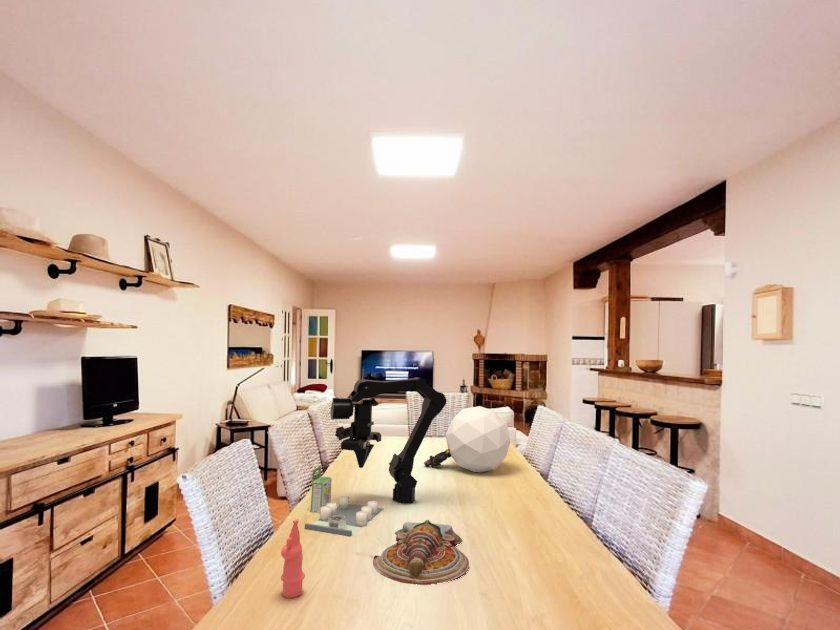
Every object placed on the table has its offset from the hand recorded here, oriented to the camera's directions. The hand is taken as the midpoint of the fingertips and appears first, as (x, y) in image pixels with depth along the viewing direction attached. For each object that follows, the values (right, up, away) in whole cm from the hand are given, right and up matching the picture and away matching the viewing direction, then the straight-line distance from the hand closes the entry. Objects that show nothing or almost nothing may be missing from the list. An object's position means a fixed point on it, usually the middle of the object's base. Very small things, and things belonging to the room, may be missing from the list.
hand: (361, 467), depth 156 cm
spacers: (-2, -11, -12) cm, 16 cm away
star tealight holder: (-4, -10, -21) cm, 23 cm away
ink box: (-12, -12, -6) cm, 18 cm away
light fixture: (+39, -17, +51) cm, 67 cm away
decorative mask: (+20, -12, -35) cm, 42 cm away
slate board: (-2, -12, -13) cm, 18 cm away
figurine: (-8, -9, -55) cm, 56 cm away
